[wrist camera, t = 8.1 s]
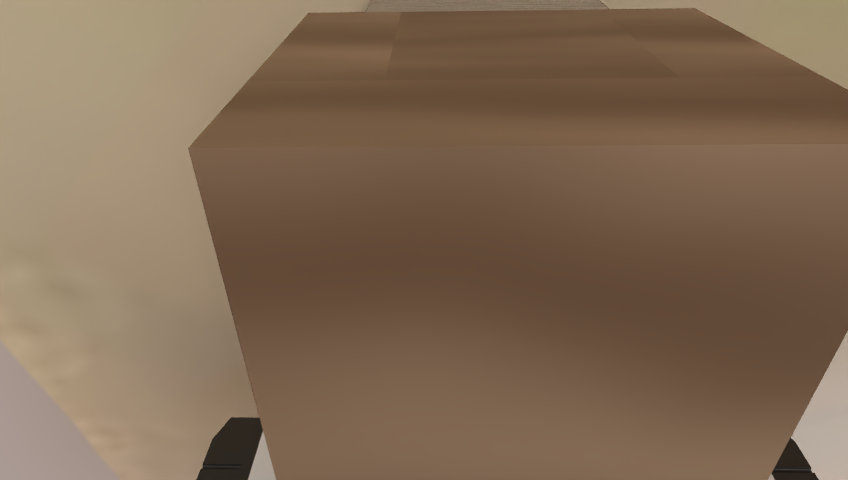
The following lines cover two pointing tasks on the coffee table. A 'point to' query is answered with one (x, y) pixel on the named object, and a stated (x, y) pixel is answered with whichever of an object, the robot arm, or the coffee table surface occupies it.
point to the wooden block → (530, 244)
